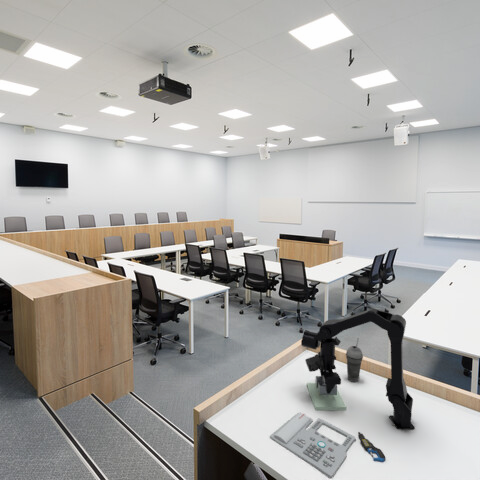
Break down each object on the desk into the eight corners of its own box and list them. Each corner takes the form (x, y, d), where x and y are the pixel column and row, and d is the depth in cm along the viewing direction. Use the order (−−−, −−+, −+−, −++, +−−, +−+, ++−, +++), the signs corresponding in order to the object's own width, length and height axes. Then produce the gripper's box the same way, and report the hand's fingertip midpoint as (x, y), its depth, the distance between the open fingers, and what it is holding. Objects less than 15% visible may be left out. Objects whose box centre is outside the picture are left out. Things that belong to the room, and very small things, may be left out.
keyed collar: (336, 395, 128) (337, 386, 127) (319, 395, 128) (319, 386, 127) (331, 384, 135) (332, 376, 134) (315, 384, 135) (315, 376, 134)
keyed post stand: (346, 410, 124) (346, 397, 123) (315, 409, 124) (315, 397, 123) (334, 385, 140) (334, 374, 139) (306, 385, 140) (307, 374, 139)
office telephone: (269, 432, 109) (300, 405, 124) (269, 439, 110) (300, 411, 124) (331, 472, 94) (359, 435, 108) (331, 480, 94) (359, 442, 108)
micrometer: (387, 458, 100) (372, 459, 99) (386, 463, 100) (371, 464, 100) (369, 429, 112) (355, 430, 111) (368, 434, 112) (355, 435, 111)
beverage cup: (348, 372, 150) (350, 332, 147) (363, 378, 145) (366, 337, 142) (342, 379, 144) (344, 338, 141) (358, 385, 140) (360, 342, 137)
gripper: (303, 341, 138) (301, 375, 140) (312, 364, 120) (311, 402, 122) (328, 341, 138) (327, 375, 140) (342, 364, 120) (340, 402, 122)
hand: (325, 387), depth 131 cm, fingers closed on keyed collar, 7 cm apart
